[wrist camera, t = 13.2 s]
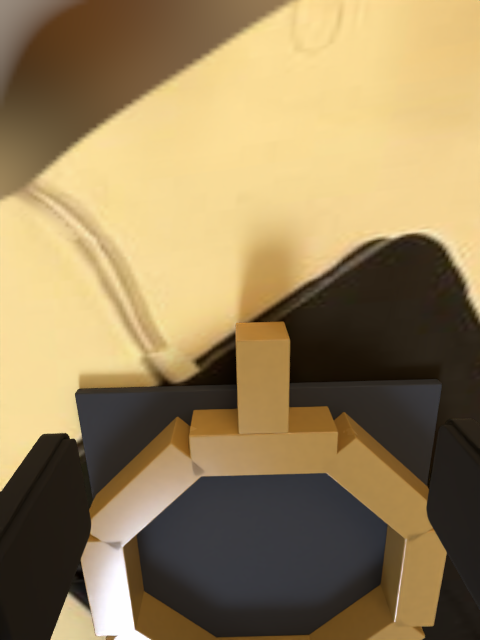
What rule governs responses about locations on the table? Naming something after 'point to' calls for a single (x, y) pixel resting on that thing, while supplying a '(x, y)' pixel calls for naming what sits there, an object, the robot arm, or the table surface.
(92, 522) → the ring
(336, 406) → the mat
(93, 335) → the table surface
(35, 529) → the robot arm
